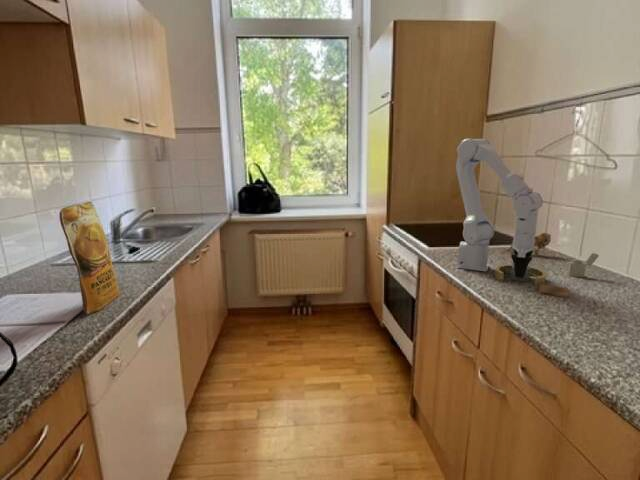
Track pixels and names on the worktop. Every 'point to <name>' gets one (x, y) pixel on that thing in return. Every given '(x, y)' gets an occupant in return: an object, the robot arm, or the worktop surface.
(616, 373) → the worktop surface
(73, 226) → the pancake mix bag
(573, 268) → the lighter
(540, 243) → the lion figurine
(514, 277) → the c link
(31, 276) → the worktop surface
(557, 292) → the coaster
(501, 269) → the c ring
